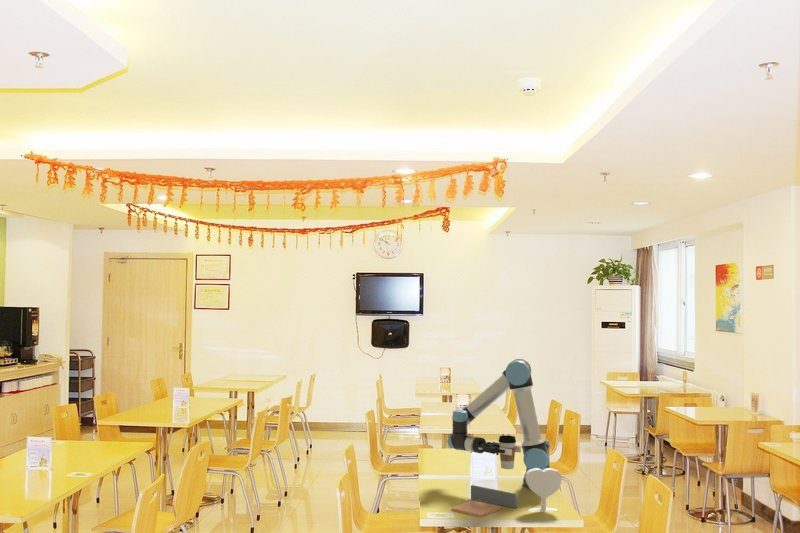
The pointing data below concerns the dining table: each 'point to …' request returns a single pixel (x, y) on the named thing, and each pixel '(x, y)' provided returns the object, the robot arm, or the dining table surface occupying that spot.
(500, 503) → the gray rectangular board
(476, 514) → the terracotta tile
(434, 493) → the dining table surface
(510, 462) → the coffee cup
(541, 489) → the heart sculpture
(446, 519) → the dining table surface
